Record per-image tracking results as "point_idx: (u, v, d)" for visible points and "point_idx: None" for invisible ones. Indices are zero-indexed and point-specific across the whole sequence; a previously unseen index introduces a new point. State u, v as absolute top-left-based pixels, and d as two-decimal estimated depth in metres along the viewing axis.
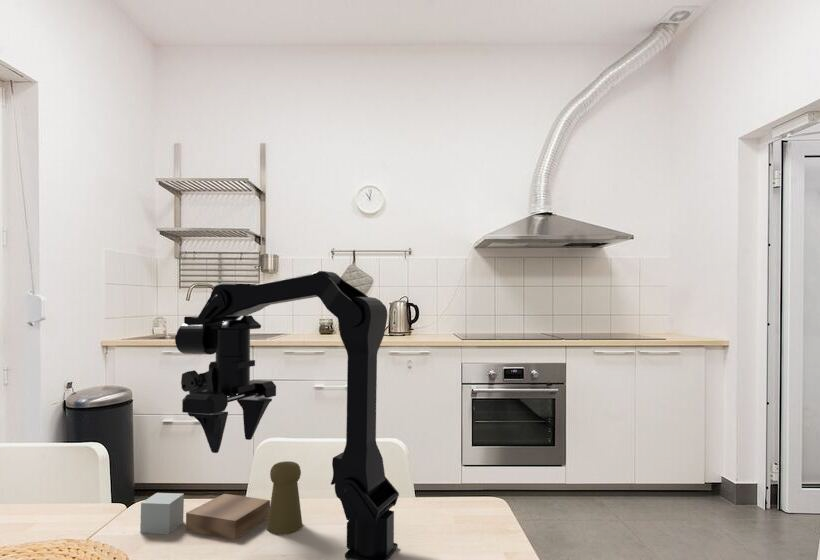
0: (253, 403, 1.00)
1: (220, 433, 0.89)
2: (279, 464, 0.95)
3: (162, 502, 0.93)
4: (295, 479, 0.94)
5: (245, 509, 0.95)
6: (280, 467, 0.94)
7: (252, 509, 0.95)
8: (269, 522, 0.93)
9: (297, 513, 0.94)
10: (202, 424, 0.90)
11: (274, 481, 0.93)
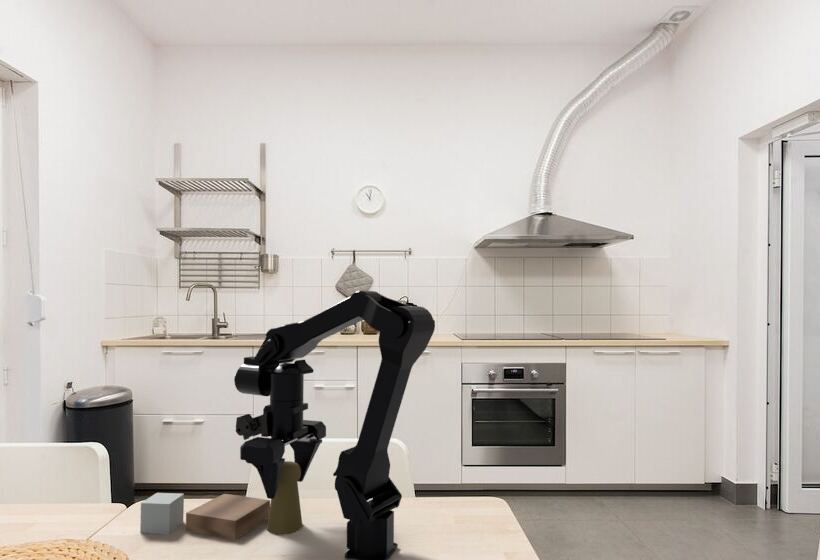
0: (304, 445, 1.00)
1: (277, 480, 0.89)
2: None
3: (162, 502, 0.93)
4: (295, 479, 0.94)
5: (245, 509, 0.95)
6: None
7: (252, 509, 0.95)
8: (269, 522, 0.93)
9: (297, 513, 0.94)
10: (259, 470, 0.90)
11: None
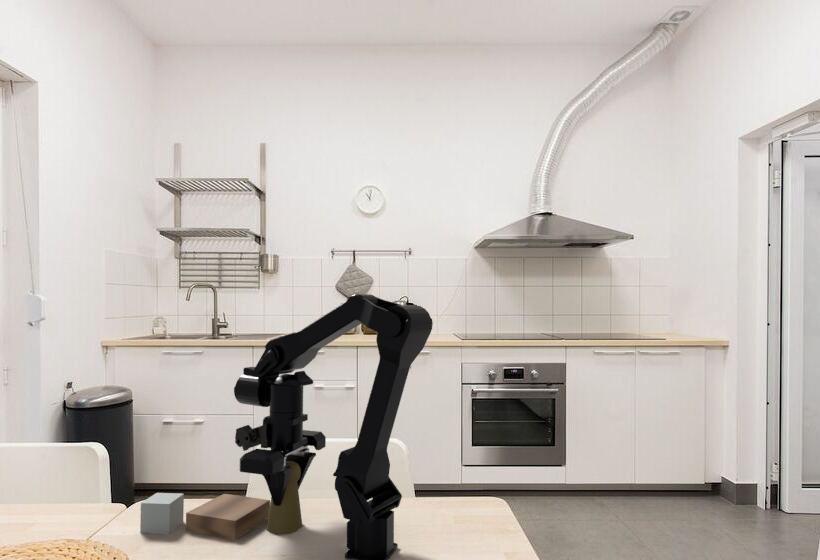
0: (297, 459, 0.98)
1: (283, 487, 0.91)
2: None
3: (162, 502, 0.93)
4: (295, 479, 0.94)
5: (245, 509, 0.95)
6: None
7: (252, 509, 0.95)
8: (269, 522, 0.93)
9: (297, 513, 0.94)
10: (266, 478, 0.92)
11: None
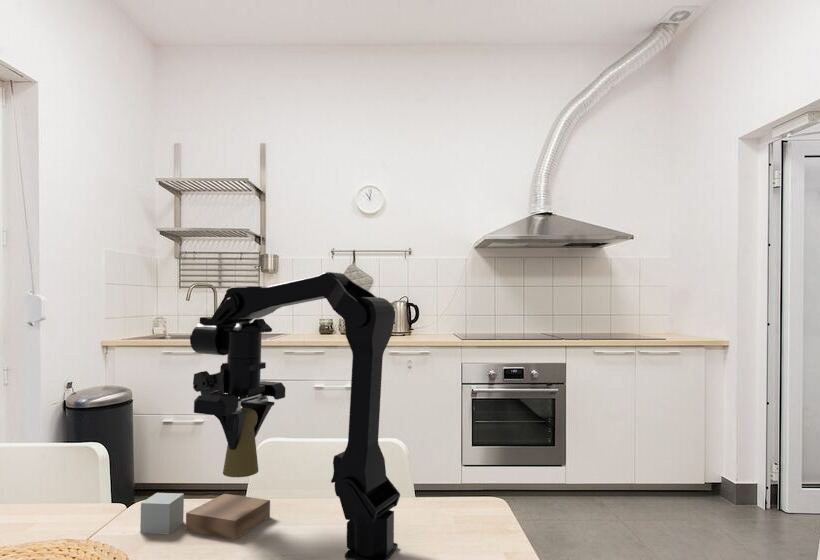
0: (255, 406, 0.99)
1: (238, 431, 0.93)
2: None
3: (162, 502, 0.93)
4: (251, 424, 0.95)
5: (245, 509, 0.95)
6: None
7: (252, 509, 0.95)
8: (225, 465, 0.95)
9: (252, 457, 0.95)
10: (221, 422, 0.93)
11: None
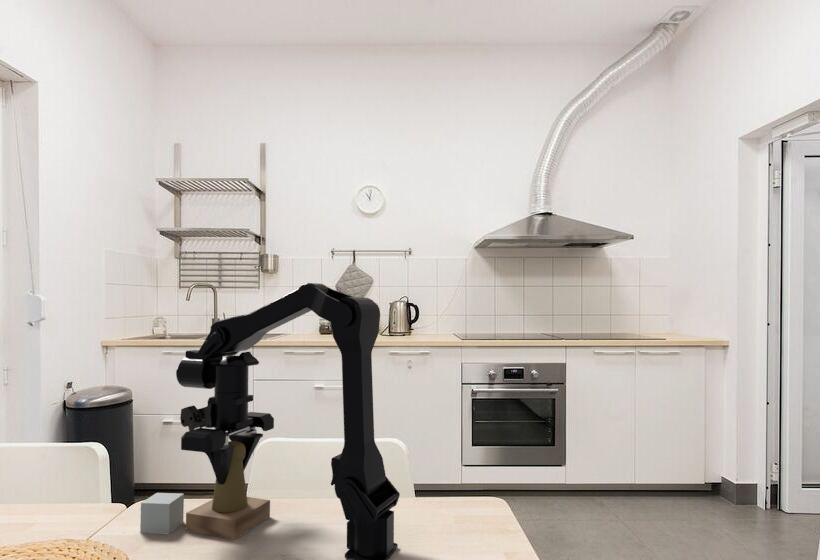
0: (244, 439, 0.99)
1: (226, 466, 0.93)
2: None
3: (162, 502, 0.93)
4: (239, 458, 0.95)
5: (245, 509, 0.95)
6: None
7: (252, 509, 0.95)
8: (213, 500, 0.95)
9: (241, 491, 0.95)
10: (209, 457, 0.93)
11: None
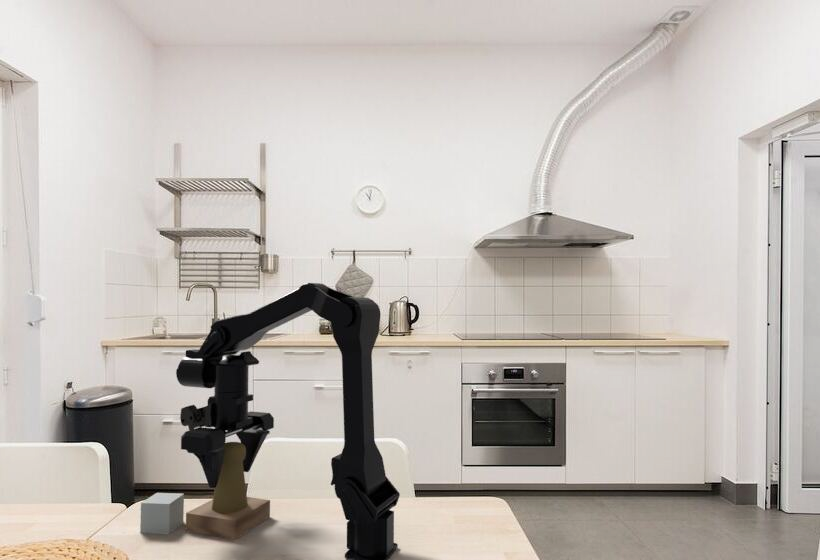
0: (251, 436, 1.01)
1: (218, 469, 0.91)
2: (224, 444, 0.96)
3: (162, 502, 0.93)
4: (239, 458, 0.95)
5: (245, 509, 0.95)
6: (224, 446, 0.95)
7: (252, 509, 0.95)
8: (213, 501, 0.95)
9: (241, 492, 0.95)
10: (200, 460, 0.91)
11: None
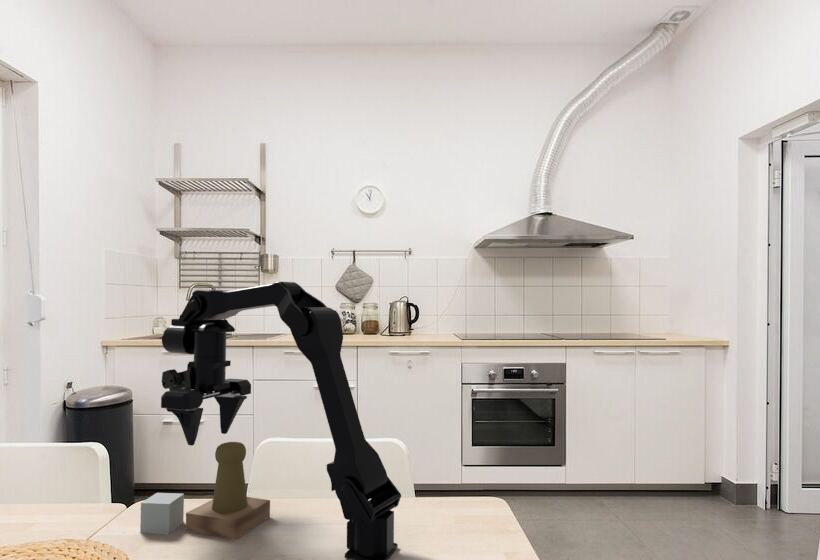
0: (229, 400, 1.08)
1: (195, 427, 0.97)
2: (224, 444, 0.96)
3: (162, 502, 0.93)
4: (239, 458, 0.95)
5: (245, 509, 0.95)
6: (224, 446, 0.95)
7: (252, 509, 0.95)
8: (213, 501, 0.95)
9: (241, 492, 0.95)
10: (179, 419, 0.98)
11: (218, 460, 0.95)
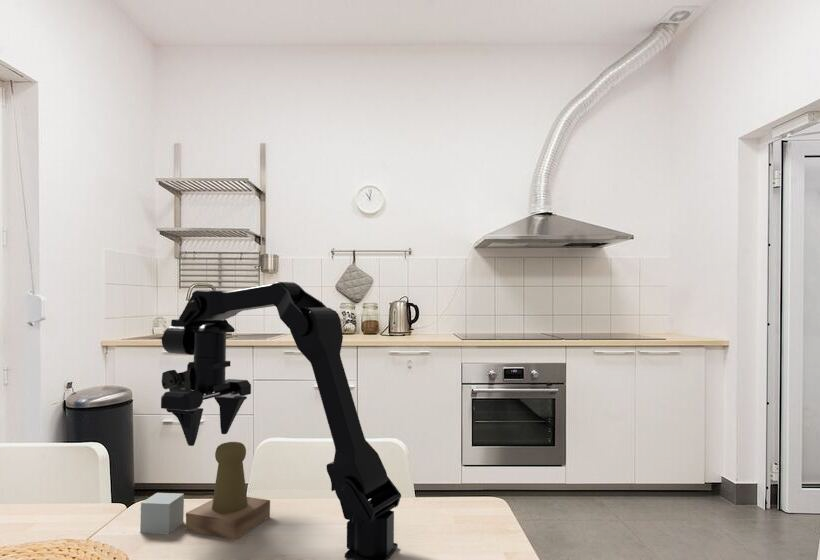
0: (229, 400, 1.08)
1: (195, 428, 0.97)
2: (224, 444, 0.96)
3: (162, 502, 0.93)
4: (239, 458, 0.95)
5: (245, 509, 0.95)
6: (224, 446, 0.95)
7: (252, 509, 0.95)
8: (213, 501, 0.95)
9: (241, 492, 0.95)
10: (179, 419, 0.98)
11: (218, 460, 0.95)
